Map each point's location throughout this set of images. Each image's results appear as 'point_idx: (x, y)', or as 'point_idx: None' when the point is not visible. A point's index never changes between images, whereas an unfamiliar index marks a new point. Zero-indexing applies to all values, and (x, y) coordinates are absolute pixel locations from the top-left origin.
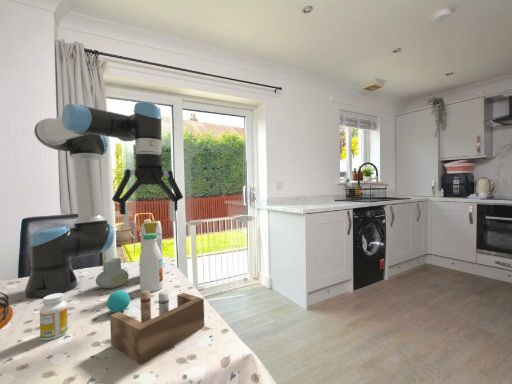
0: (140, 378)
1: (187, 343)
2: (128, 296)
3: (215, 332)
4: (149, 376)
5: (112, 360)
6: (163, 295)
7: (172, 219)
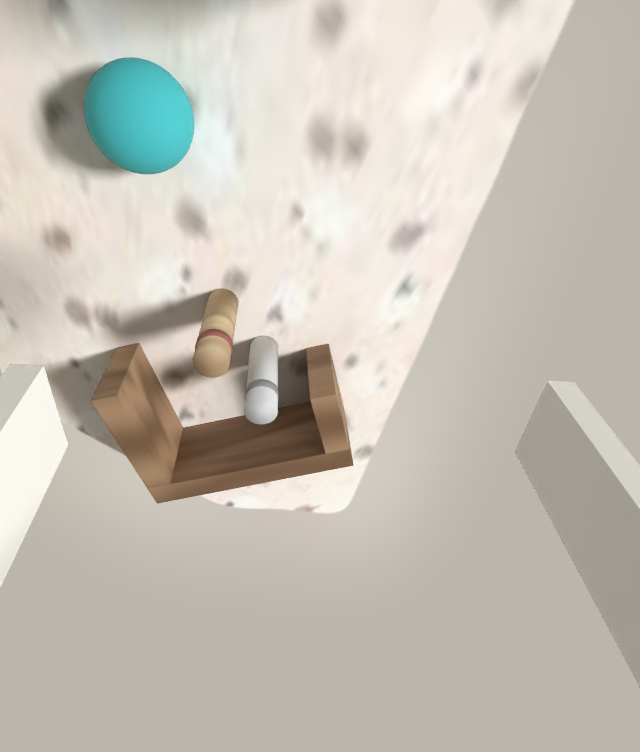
0: None
1: None
2: (182, 150)
3: None
4: None
5: None
6: (255, 422)
7: (525, 467)
